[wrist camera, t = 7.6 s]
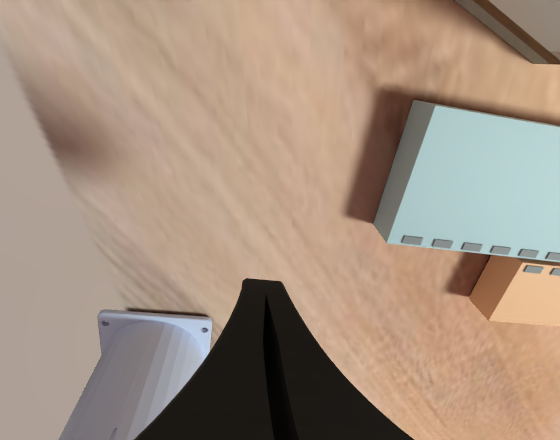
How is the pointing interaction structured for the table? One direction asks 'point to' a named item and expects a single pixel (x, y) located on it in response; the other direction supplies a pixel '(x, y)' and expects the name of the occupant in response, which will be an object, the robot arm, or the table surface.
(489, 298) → the stub
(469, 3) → the brown-striped cream pillar
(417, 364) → the table surface
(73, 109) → the table surface
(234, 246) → the table surface
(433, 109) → the notched pale blue slab
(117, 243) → the table surface
